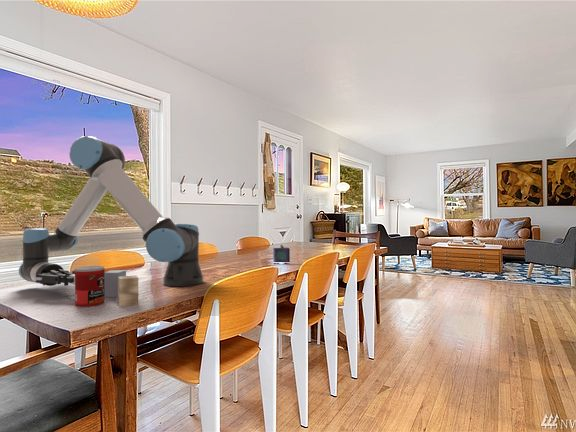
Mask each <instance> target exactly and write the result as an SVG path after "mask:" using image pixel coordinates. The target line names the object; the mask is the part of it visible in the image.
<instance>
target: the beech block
mask: <svg viewBox="0 0 576 432" xmlns="http://www.w3.org/2000/svg"><path fill="white" fill-rule="evenodd" d="M117 299H118V300H117V302H118V305H119V307H127V306H133V305H134V306H135V305H139V276H137V275H136V274H135V275H134V274H133V275H126V276H121V277H118V297H117Z"/></svg>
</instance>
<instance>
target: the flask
mask: <svg viewBox="0 0 576 432" xmlns="http://www.w3.org/2000/svg"><path fill="white" fill-rule="evenodd" d="M272 251H273V253H272V255H273V256H272V257H273V258H272V263H273V262H290V261H291V257H290V256H291V255H290V251H291V249H290V247H288V246H284V245H283V244H280V245H279V247H272ZM290 263H291V262H290Z"/></svg>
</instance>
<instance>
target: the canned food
mask: <svg viewBox="0 0 576 432" xmlns="http://www.w3.org/2000/svg"><path fill="white" fill-rule="evenodd" d="M74 270H75V285H74V303H75V306H77V307H82V308H85V307H86V308H89V306H90V307H96V306H100V305H102V304H104V302H105V298H106V297H105V272H106V271H105V266H103V265H86V266H85V265H84V266H79V267H76V268H75V269H74Z"/></svg>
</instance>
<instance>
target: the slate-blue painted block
mask: <svg viewBox="0 0 576 432" xmlns="http://www.w3.org/2000/svg"><path fill="white" fill-rule="evenodd" d="M121 276H127V270H125V269H124V270H123V269H121V270H119V269H117V270H116V269H115V270H114V269H112V270H111V269H110V270H108V271H105V298H118V277H121Z"/></svg>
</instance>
